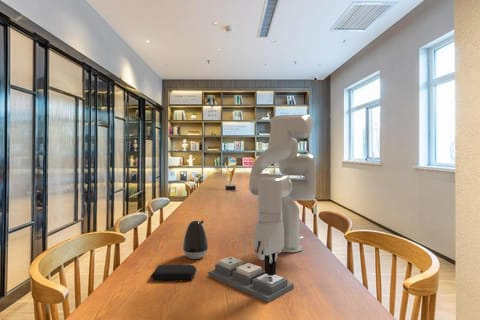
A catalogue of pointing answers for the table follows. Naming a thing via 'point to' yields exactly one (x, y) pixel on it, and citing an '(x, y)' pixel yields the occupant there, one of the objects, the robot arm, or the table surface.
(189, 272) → the carrying case or bag
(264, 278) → the tile three
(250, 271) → the tile one
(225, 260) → the tile two
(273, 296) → the button board
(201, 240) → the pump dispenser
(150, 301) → the table surface
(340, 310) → the table surface
